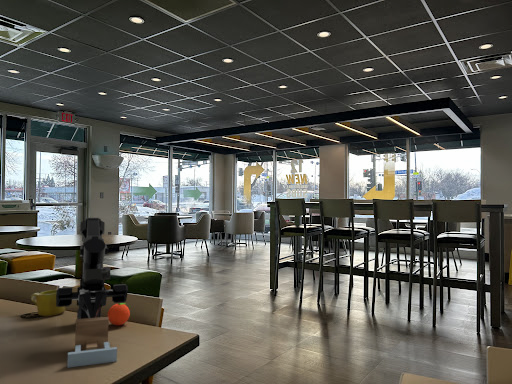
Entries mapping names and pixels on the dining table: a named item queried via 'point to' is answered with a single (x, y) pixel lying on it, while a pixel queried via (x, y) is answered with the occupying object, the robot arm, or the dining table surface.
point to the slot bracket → (92, 356)
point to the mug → (47, 303)
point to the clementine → (118, 314)
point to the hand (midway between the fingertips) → (92, 321)
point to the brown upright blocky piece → (91, 333)
